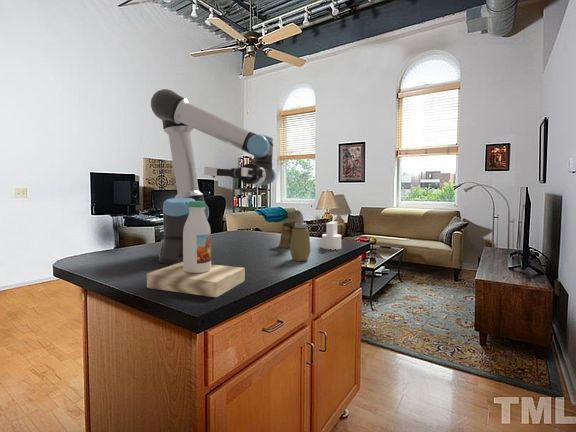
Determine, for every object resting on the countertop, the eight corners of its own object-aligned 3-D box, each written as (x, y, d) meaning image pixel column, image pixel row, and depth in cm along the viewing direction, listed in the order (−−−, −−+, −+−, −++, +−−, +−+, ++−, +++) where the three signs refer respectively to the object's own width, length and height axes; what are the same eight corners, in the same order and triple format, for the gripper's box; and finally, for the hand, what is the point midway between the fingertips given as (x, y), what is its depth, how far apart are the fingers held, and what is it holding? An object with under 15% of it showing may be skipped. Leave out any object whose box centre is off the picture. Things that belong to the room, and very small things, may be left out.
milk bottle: (186, 275, 91) (185, 201, 89) (181, 268, 97) (180, 200, 96) (214, 272, 94) (213, 201, 92) (207, 266, 101) (207, 200, 99)
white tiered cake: (325, 245, 163) (325, 221, 162) (343, 247, 159) (343, 222, 158) (319, 248, 155) (320, 222, 154) (338, 250, 151) (339, 224, 150)
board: (147, 287, 92) (146, 273, 92) (183, 273, 107) (182, 261, 107) (216, 297, 85) (216, 282, 85) (244, 280, 100) (244, 267, 100)
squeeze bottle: (310, 258, 133) (311, 213, 132) (310, 262, 125) (311, 215, 124) (290, 257, 134) (291, 212, 133) (288, 261, 126) (289, 214, 125)
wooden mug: (288, 250, 148) (289, 210, 147) (275, 245, 160) (276, 208, 159) (306, 249, 152) (306, 210, 151) (292, 244, 164) (292, 208, 163)
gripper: (282, 185, 123) (258, 184, 103) (223, 183, 131) (190, 181, 111) (283, 164, 122) (259, 159, 102) (223, 164, 130) (190, 159, 111)
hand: (223, 171), depth 107 cm, fingers open, 13 cm apart
